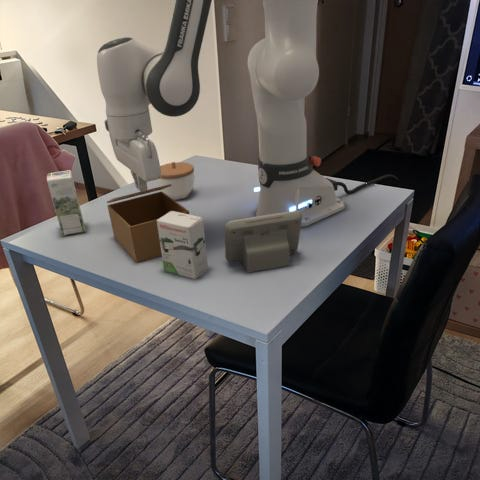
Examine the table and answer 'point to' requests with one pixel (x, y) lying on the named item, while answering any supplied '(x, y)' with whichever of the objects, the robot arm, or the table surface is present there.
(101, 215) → the table surface
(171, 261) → the ink box
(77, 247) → the table surface
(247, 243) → the digital clock
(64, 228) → the syrup box
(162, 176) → the trinket box
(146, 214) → the carton
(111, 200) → the flap
